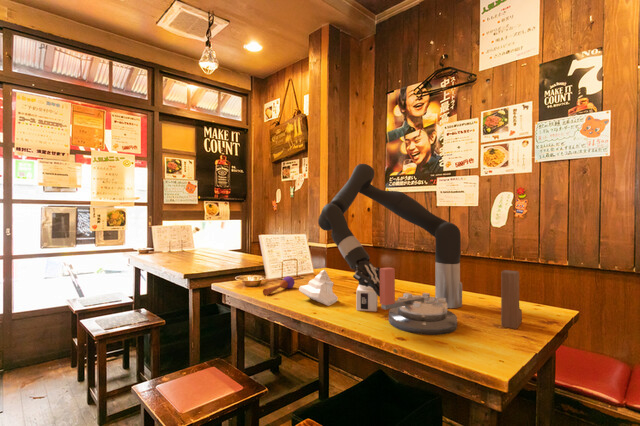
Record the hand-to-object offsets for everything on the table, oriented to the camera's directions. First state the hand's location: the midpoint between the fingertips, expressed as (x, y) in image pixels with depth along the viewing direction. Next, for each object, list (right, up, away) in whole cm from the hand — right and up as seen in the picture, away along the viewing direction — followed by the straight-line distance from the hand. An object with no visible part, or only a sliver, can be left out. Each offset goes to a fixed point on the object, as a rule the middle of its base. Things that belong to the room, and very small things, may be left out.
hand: (382, 294), depth 106 cm
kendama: (-39, -11, +52) cm, 66 cm away
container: (-1, -11, +24) cm, 26 cm away
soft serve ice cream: (-20, -11, +34) cm, 41 cm away
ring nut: (+10, -8, +4) cm, 14 cm away
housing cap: (+15, -11, +6) cm, 19 cm away
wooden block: (+44, -11, +5) cm, 46 cm away
